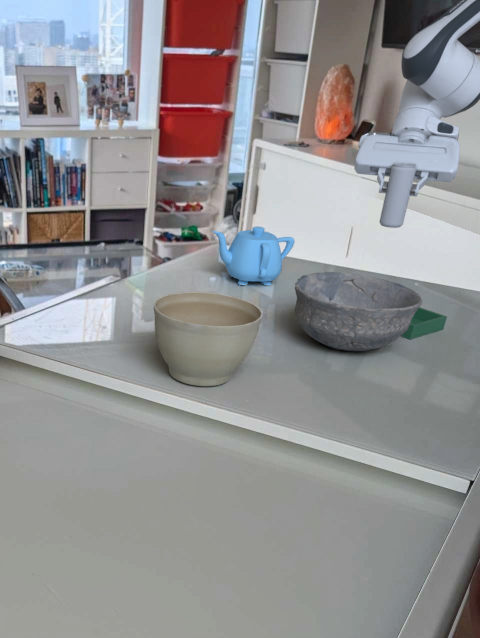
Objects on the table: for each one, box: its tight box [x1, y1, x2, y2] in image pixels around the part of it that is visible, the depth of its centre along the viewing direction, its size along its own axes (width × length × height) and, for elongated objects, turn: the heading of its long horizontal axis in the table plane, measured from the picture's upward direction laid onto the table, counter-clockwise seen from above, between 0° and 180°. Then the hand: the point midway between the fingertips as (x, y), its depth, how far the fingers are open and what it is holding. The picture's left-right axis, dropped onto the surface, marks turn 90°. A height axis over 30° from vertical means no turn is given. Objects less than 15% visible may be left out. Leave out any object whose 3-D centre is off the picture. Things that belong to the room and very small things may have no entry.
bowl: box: [294, 271, 423, 352], centre depth 129 cm, size 21×21×10 cm
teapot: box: [211, 226, 296, 286], centre depth 159 cm, size 13×14×11 cm
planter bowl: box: [153, 291, 264, 387], centre depth 116 cm, size 16×16×11 cm
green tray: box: [400, 306, 448, 340], centre depth 141 cm, size 10×10×2 cm
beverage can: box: [379, 162, 416, 229], centre depth 157 cm, size 5×5×12 cm
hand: (398, 193), depth 156 cm, fingers closed on beverage can, 5 cm apart
